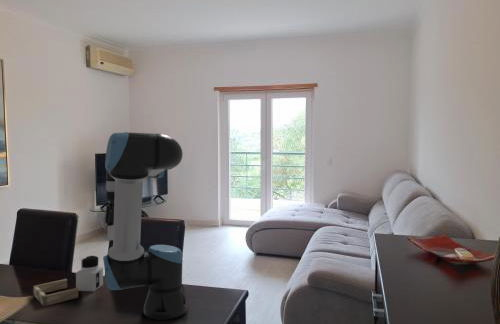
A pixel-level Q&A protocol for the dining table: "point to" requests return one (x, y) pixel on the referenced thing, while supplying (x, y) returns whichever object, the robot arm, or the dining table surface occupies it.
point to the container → (89, 274)
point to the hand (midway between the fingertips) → (115, 242)
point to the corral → (55, 297)
